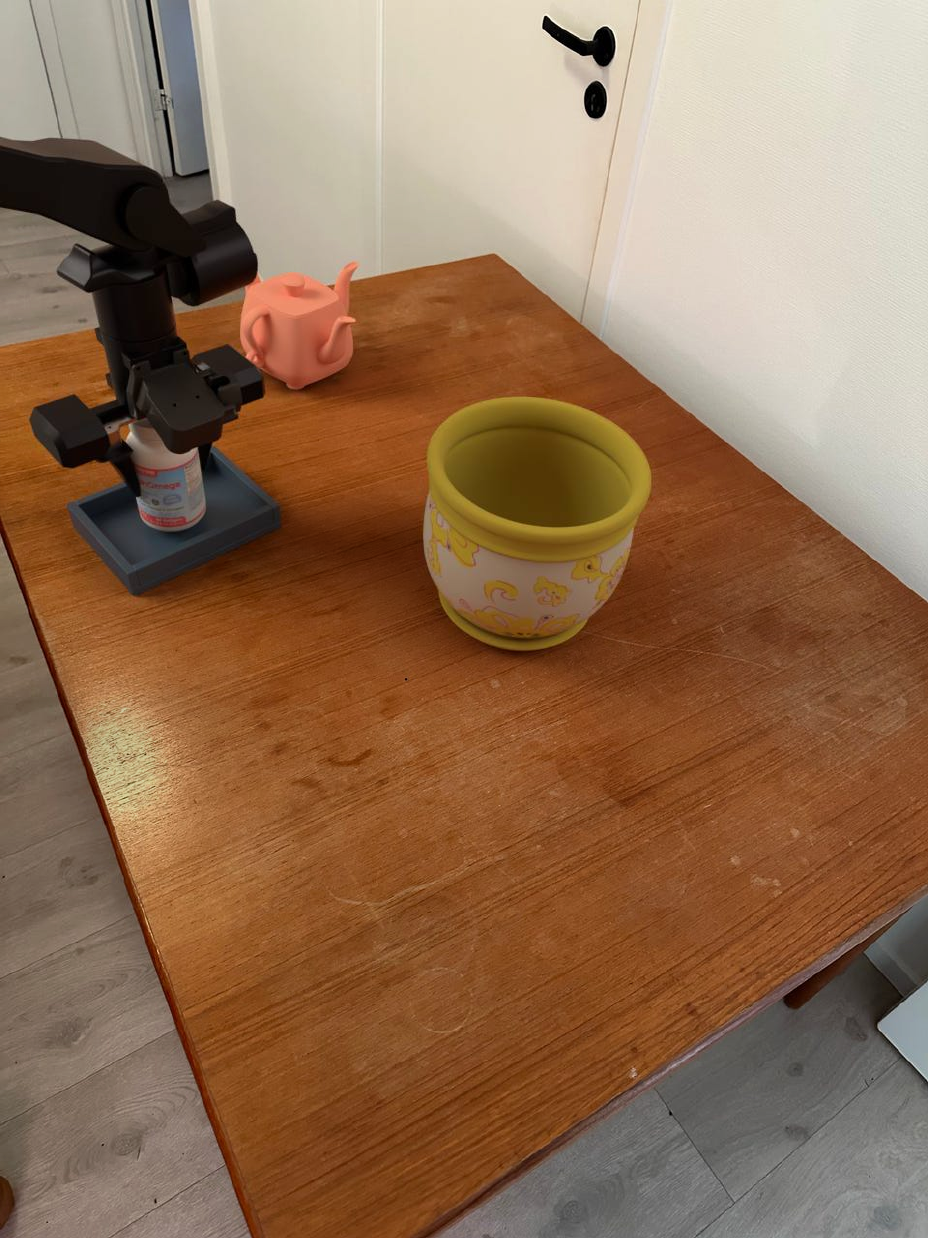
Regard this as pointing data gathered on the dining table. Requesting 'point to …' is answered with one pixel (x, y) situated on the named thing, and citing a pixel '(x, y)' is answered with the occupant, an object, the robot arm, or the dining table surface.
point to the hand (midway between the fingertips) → (168, 481)
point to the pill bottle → (166, 481)
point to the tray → (163, 555)
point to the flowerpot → (530, 517)
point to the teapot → (298, 326)
